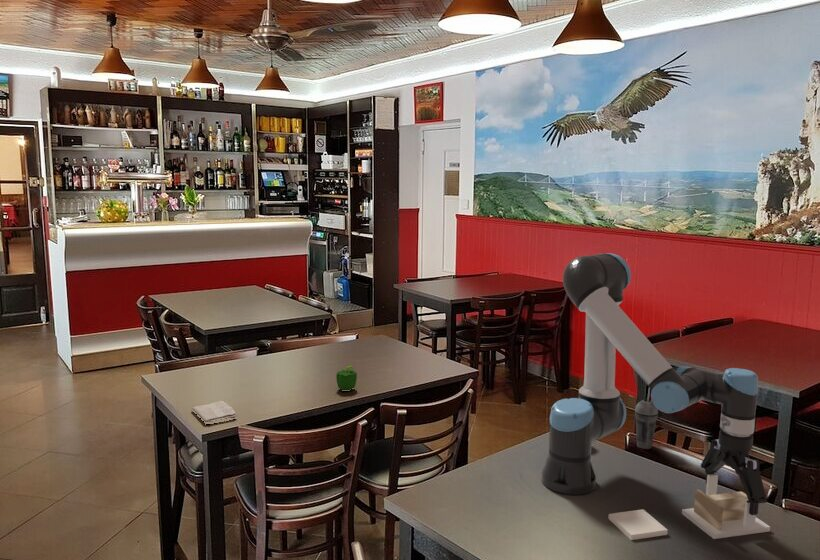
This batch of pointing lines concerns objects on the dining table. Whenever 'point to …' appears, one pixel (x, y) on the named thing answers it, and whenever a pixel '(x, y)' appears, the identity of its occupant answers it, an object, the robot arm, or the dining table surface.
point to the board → (725, 526)
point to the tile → (637, 524)
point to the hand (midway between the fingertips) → (729, 511)
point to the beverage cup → (645, 422)
